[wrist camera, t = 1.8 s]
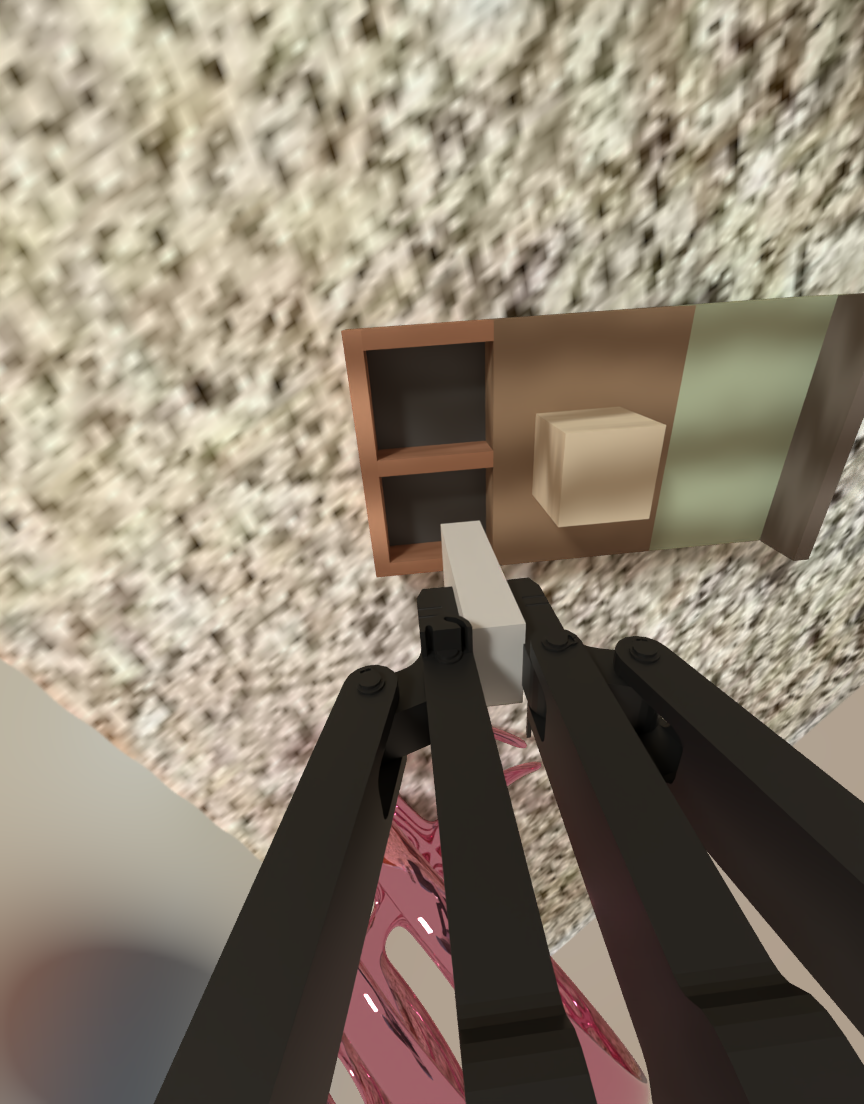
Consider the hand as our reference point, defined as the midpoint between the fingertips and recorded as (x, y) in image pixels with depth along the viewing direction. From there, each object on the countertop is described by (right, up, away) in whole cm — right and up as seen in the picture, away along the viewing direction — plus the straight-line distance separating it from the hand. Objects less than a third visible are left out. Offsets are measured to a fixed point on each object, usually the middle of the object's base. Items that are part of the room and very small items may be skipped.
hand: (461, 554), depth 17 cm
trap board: (+8, +8, +12) cm, 17 cm away
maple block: (+8, +6, +10) cm, 14 cm away
